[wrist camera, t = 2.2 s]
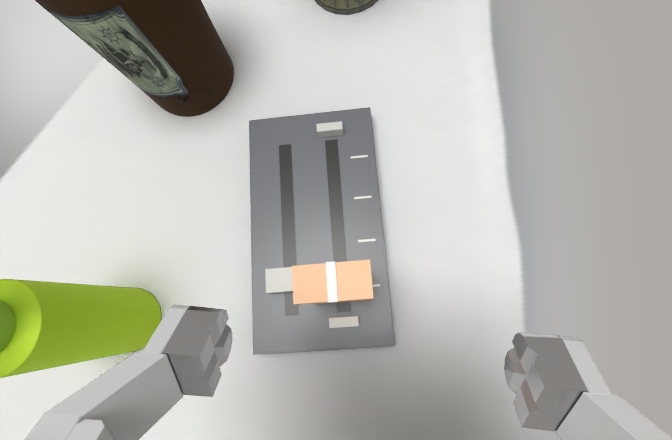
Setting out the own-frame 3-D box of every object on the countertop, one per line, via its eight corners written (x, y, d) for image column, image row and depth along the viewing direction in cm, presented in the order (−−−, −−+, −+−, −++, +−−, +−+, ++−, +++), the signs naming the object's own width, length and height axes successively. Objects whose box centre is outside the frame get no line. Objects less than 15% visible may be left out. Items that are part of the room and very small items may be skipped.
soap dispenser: (181, 313, 34) (-60, 324, 15) (125, 365, 34) (-204, 448, 14) (146, 268, 36) (-118, 224, 16) (91, 318, 35) (-253, 334, 16)
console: (393, 343, 32) (396, 347, 29) (259, 351, 33) (247, 357, 29) (370, 117, 37) (370, 97, 34) (255, 130, 38) (243, 112, 35)
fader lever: (372, 300, 31) (373, 299, 22) (313, 304, 31) (293, 305, 23) (369, 271, 32) (370, 258, 23) (312, 275, 32) (291, 264, 23)
